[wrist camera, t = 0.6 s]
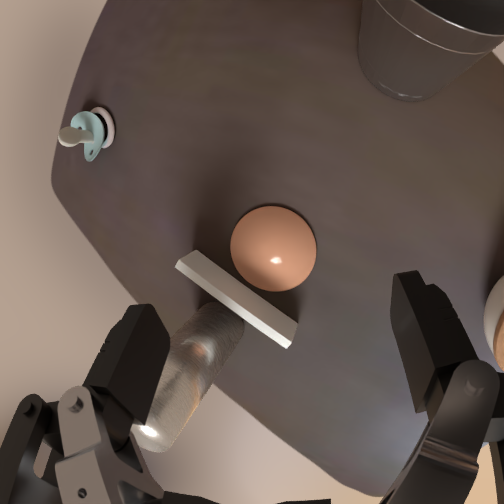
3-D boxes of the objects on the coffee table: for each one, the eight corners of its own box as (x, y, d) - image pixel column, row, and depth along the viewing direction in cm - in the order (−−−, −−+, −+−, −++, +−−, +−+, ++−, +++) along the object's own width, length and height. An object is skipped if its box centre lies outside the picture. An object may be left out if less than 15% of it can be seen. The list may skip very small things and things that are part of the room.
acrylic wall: (192, 256, 34) (175, 266, 31) (196, 249, 34) (178, 259, 30) (292, 329, 33) (286, 348, 30) (298, 323, 33) (292, 342, 29)
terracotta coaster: (240, 196, 31) (239, 196, 31) (327, 220, 29) (326, 220, 29) (224, 275, 34) (223, 276, 34) (302, 300, 32) (302, 302, 32)
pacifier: (102, 97, 33) (77, 128, 35) (70, 91, 27) (44, 126, 29) (125, 136, 33) (97, 166, 35) (91, 133, 27) (63, 168, 29)
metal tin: (200, 294, 35) (102, 384, 19) (248, 311, 34) (172, 422, 18) (194, 334, 37) (109, 428, 21) (238, 351, 36) (170, 461, 20)
